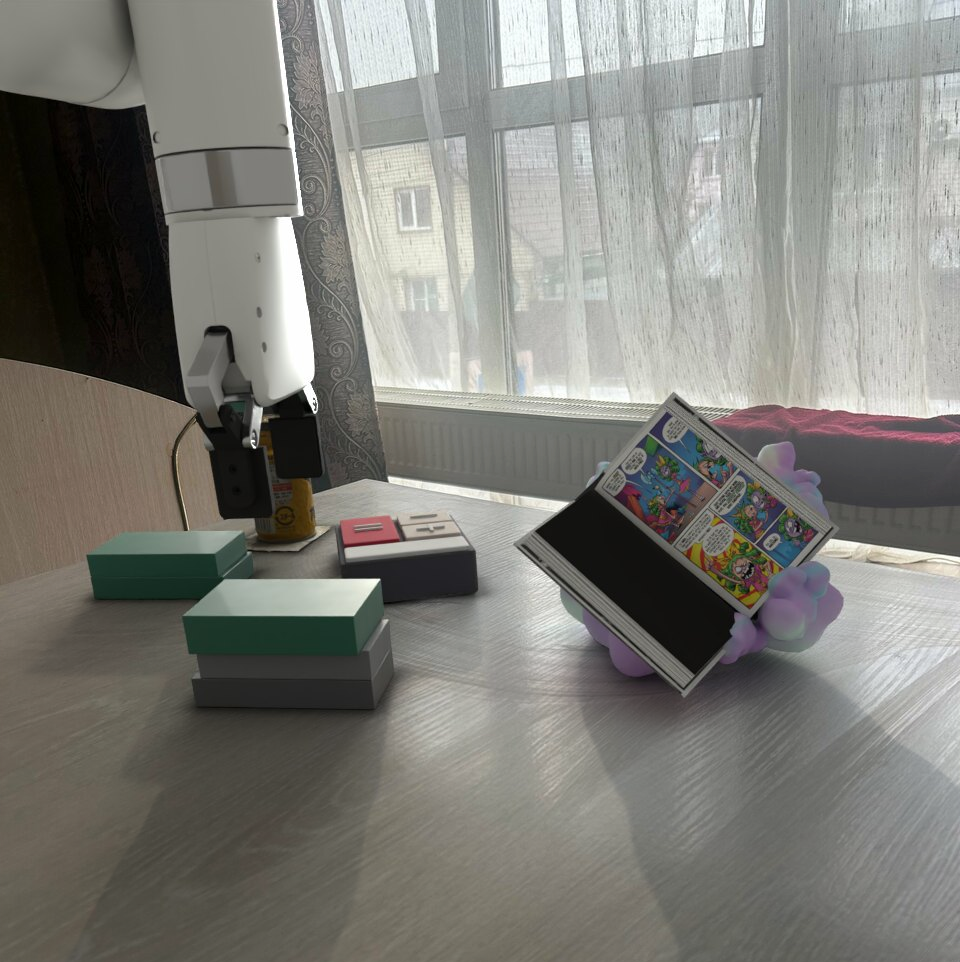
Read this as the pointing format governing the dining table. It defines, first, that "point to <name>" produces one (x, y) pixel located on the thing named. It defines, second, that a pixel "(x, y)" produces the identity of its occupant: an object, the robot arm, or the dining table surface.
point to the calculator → (408, 554)
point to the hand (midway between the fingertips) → (276, 495)
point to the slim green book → (285, 617)
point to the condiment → (285, 509)
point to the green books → (168, 564)
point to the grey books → (297, 678)
